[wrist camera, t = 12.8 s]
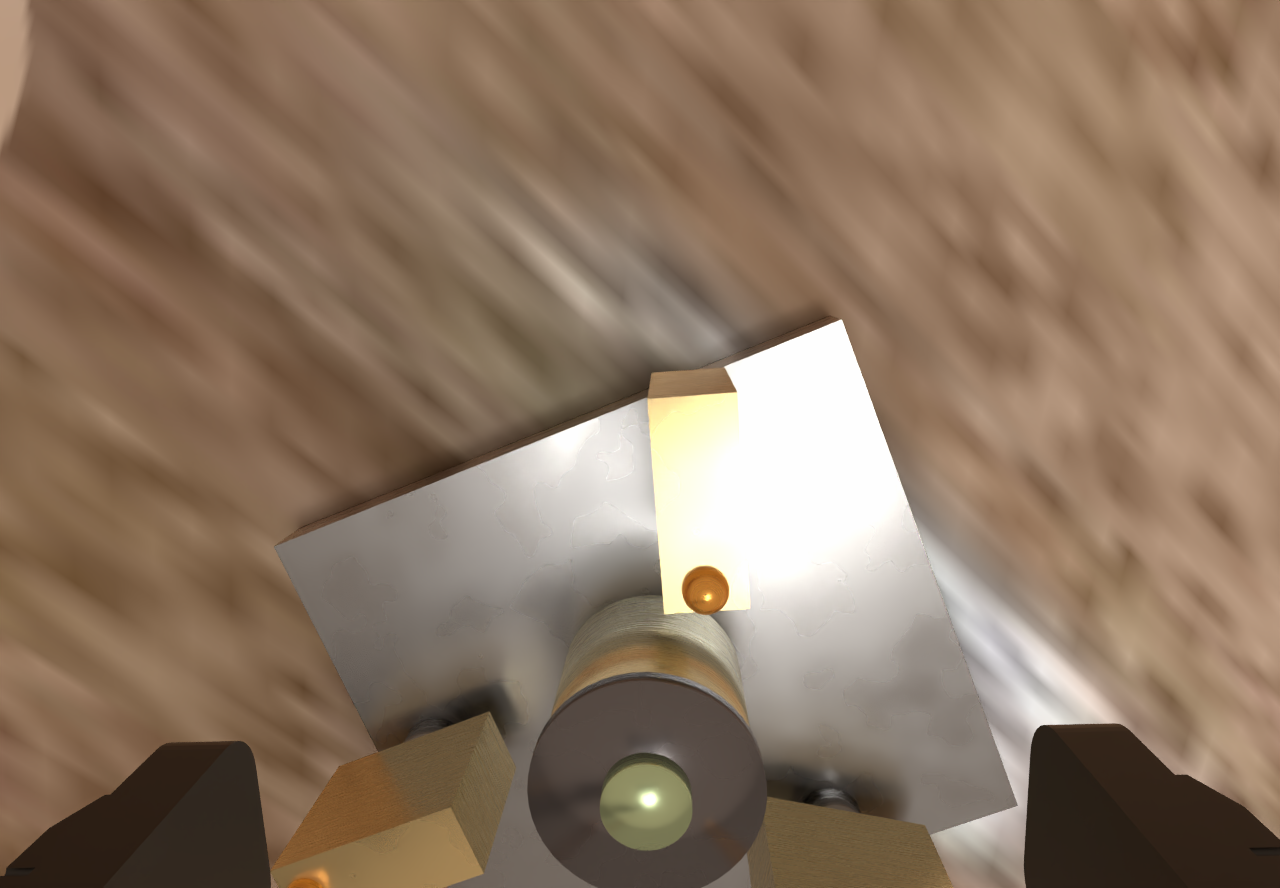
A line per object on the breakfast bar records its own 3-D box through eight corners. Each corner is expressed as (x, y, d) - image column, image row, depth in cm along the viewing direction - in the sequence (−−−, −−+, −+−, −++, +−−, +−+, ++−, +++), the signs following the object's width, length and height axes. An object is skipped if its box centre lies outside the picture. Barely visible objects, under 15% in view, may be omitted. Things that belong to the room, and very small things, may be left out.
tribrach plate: (503, 937, 34) (443, 1180, 25) (299, 528, 31) (145, 638, 22) (996, 772, 32) (1124, 973, 23) (830, 315, 29) (902, 340, 20)
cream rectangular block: (722, 362, 28) (739, 396, 21) (732, 532, 29) (752, 619, 22) (652, 368, 28) (646, 403, 21) (665, 537, 29) (664, 625, 22)
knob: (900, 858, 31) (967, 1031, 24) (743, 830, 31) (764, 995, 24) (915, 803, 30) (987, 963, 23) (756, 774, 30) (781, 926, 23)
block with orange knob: (522, 748, 30) (478, 891, 24) (378, 799, 31) (294, 954, 24) (496, 693, 30) (444, 823, 23) (351, 747, 31) (258, 889, 24)
